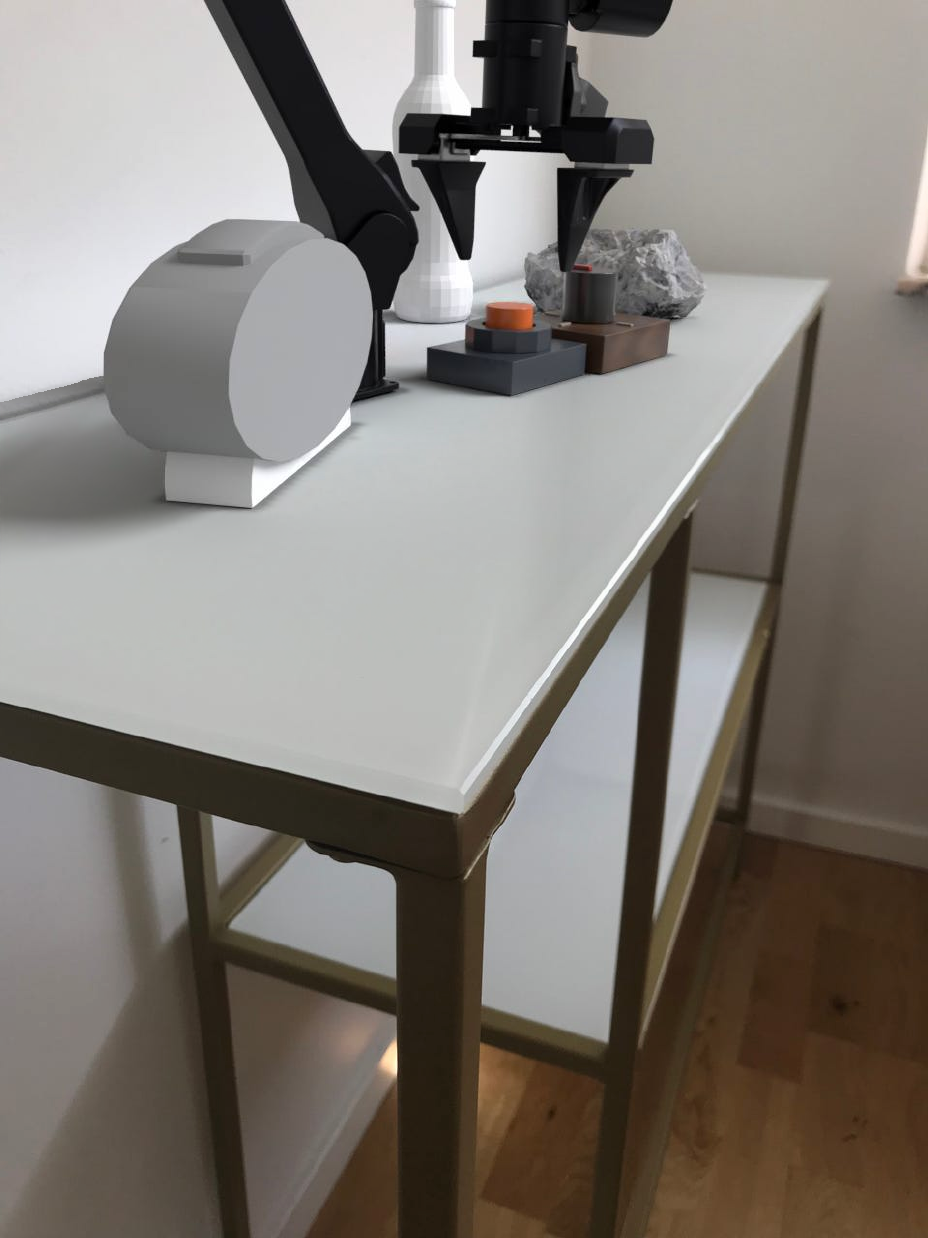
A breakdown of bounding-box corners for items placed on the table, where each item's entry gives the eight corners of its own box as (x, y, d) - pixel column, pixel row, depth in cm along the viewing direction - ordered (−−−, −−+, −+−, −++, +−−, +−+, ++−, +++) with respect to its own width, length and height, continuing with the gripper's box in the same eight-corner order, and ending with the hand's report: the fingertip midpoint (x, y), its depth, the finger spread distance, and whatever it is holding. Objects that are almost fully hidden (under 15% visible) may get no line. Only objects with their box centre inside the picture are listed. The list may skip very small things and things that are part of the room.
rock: (717, 299, 111) (719, 202, 106) (693, 350, 100) (694, 246, 95) (555, 299, 118) (548, 208, 112) (516, 348, 107) (507, 249, 101)
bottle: (486, 316, 106) (496, -25, 93) (444, 327, 100) (448, -37, 87) (422, 308, 110) (422, -20, 97) (376, 318, 104) (371, -32, 91)
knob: (623, 319, 87) (627, 266, 86) (596, 325, 84) (601, 270, 82) (579, 313, 90) (582, 261, 88) (551, 319, 87) (554, 265, 85)
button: (514, 334, 76) (515, 310, 76) (475, 328, 78) (476, 305, 78) (541, 328, 79) (542, 305, 78) (503, 323, 81) (504, 300, 80)
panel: (602, 374, 82) (605, 333, 80) (500, 356, 87) (501, 318, 86) (667, 354, 90) (671, 317, 88) (570, 339, 95) (572, 304, 94)
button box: (511, 395, 74) (513, 339, 73) (426, 379, 79) (426, 325, 77) (584, 374, 82) (588, 322, 80) (503, 360, 86) (504, 310, 84)
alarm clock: (287, 407, 70) (275, 205, 64) (374, 413, 69) (371, 208, 63) (117, 520, 49) (80, 236, 44) (239, 531, 48) (216, 242, 43)
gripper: (702, 34, 71) (675, 270, 78) (486, 40, 81) (478, 248, 88) (623, 16, 63) (600, 281, 70) (394, 25, 73) (392, 256, 80)
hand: (513, 265), depth 77 cm, fingers open, 9 cm apart
